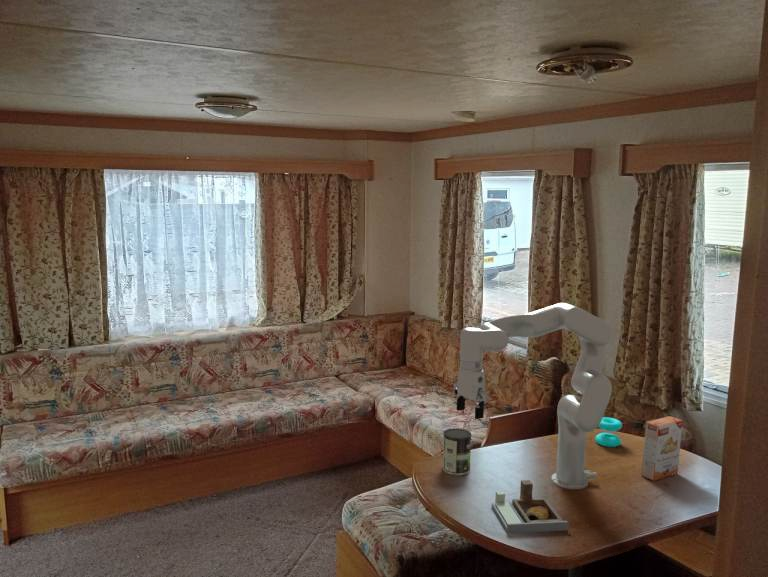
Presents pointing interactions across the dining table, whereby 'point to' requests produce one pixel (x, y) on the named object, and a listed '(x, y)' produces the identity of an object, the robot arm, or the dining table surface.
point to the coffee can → (456, 451)
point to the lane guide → (530, 524)
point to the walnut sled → (532, 503)
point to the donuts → (609, 438)
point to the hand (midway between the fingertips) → (469, 414)
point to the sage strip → (505, 509)
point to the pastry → (537, 513)
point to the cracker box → (661, 447)
